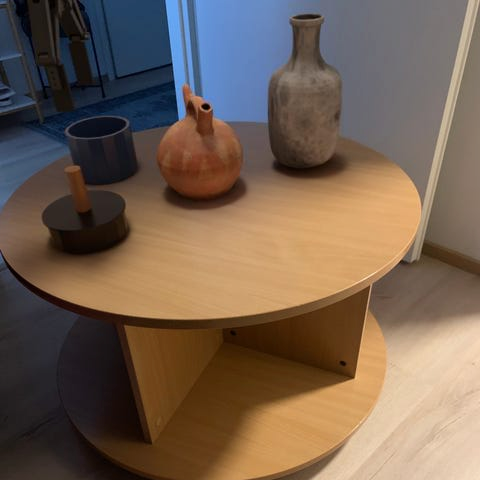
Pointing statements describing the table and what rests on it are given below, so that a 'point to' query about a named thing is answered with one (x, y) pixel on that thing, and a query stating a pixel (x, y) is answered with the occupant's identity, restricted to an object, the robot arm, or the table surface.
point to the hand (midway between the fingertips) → (77, 97)
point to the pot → (102, 149)
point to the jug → (200, 152)
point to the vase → (304, 100)
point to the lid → (82, 207)
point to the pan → (91, 238)
